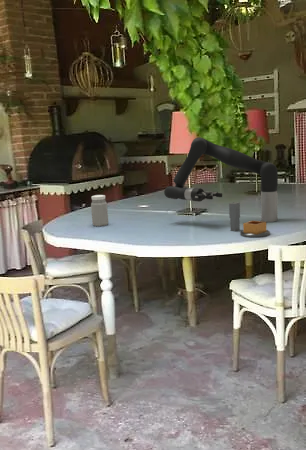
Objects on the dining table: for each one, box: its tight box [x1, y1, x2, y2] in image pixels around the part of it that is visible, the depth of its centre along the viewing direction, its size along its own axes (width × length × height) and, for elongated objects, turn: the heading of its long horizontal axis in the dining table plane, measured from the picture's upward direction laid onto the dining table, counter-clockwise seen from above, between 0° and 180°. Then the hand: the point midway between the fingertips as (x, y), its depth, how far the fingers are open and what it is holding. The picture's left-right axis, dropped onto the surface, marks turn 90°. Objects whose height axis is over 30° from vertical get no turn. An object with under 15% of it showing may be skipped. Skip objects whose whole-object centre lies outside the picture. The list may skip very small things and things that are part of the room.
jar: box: [90, 194, 109, 227], centre depth 323 cm, size 10×10×18 cm
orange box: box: [240, 220, 271, 239], centre depth 274 cm, size 15×15×6 cm
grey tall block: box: [228, 202, 241, 232], centre depth 285 cm, size 4×4×15 cm
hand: (217, 196), depth 291 cm, fingers open, 8 cm apart
